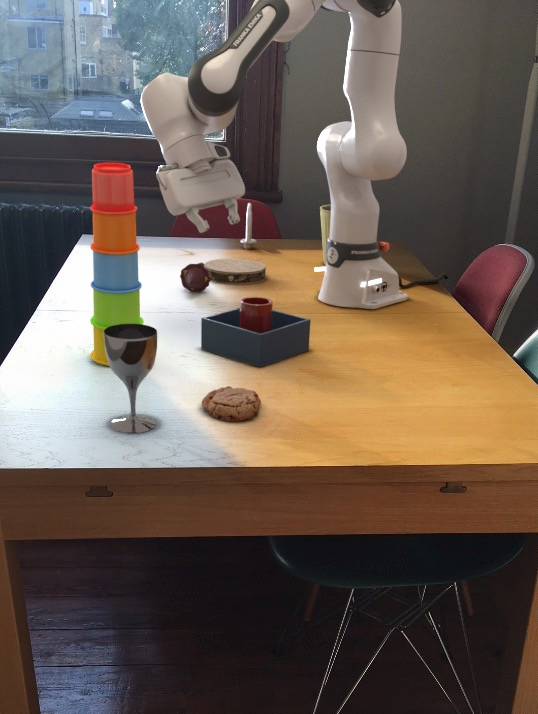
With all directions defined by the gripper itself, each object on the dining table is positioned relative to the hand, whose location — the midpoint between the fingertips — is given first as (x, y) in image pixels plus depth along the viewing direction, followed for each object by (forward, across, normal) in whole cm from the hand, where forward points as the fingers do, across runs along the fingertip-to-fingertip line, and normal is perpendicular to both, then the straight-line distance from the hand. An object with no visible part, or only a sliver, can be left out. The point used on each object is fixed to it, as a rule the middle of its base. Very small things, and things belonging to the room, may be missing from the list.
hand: (220, 226), depth 173 cm
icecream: (+4, +21, +34) cm, 41 cm away
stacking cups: (+15, -27, +14) cm, 34 cm away
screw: (-6, +71, +55) cm, 90 cm away
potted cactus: (+25, +73, +37) cm, 86 cm away
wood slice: (+4, +40, +37) cm, 55 cm away
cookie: (+33, -33, -14) cm, 49 cm away
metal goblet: (+28, -48, -8) cm, 56 cm away
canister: (+24, -5, +1) cm, 24 cm away
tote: (+25, -5, +1) cm, 25 cm away
